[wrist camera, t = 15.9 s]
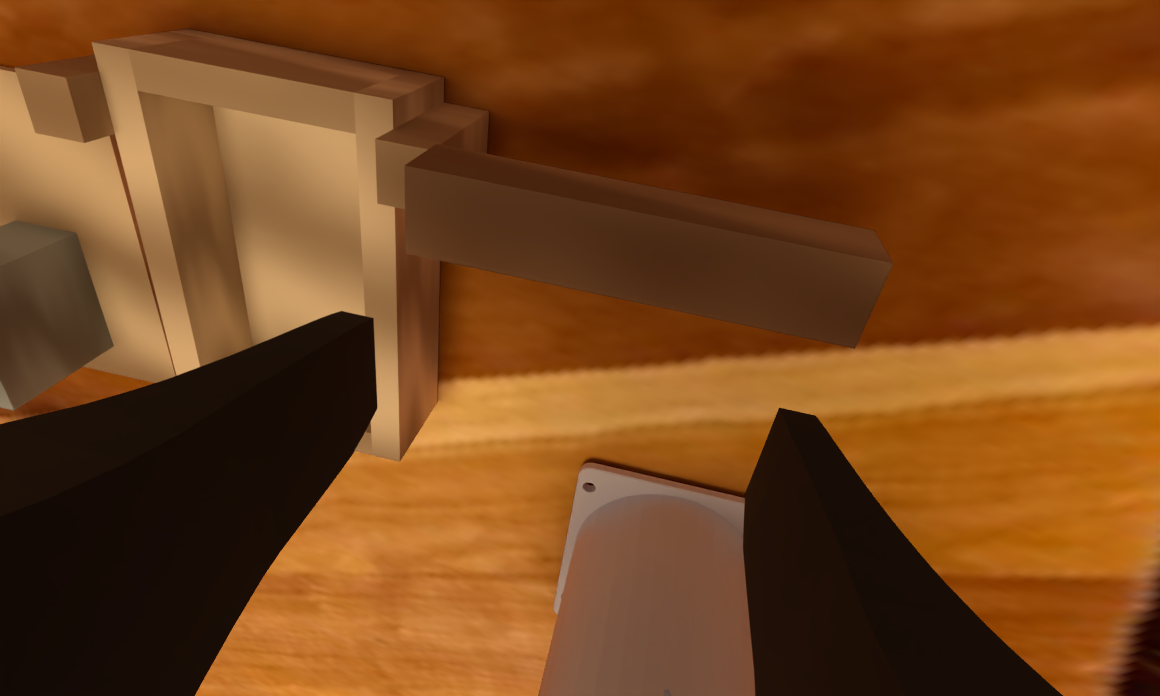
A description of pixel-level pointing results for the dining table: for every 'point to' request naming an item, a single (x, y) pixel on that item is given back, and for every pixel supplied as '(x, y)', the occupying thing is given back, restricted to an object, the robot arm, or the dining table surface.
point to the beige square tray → (270, 194)
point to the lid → (69, 262)
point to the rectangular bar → (644, 244)
